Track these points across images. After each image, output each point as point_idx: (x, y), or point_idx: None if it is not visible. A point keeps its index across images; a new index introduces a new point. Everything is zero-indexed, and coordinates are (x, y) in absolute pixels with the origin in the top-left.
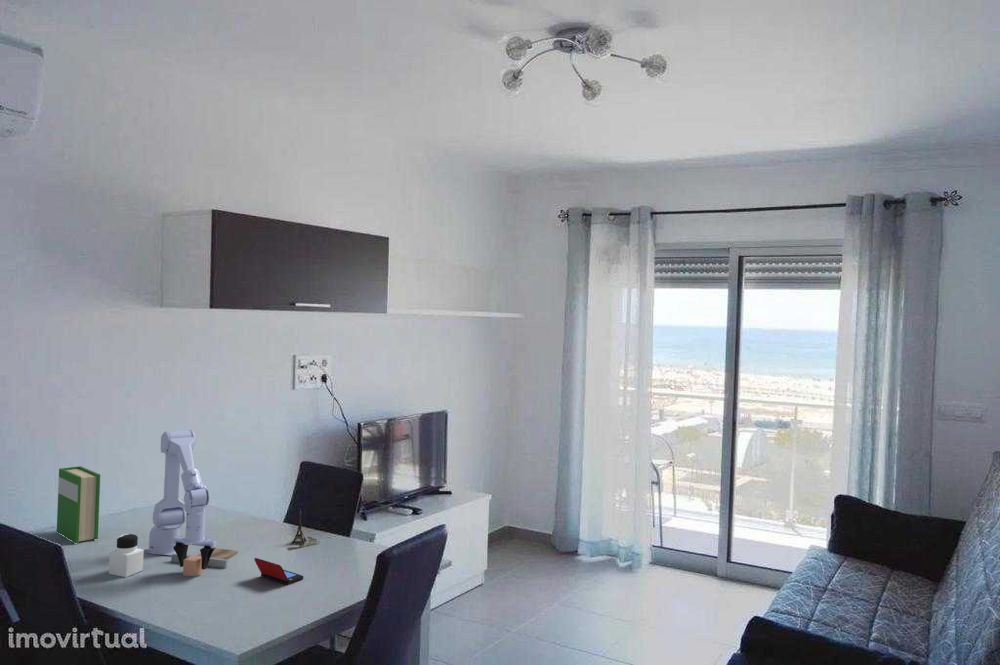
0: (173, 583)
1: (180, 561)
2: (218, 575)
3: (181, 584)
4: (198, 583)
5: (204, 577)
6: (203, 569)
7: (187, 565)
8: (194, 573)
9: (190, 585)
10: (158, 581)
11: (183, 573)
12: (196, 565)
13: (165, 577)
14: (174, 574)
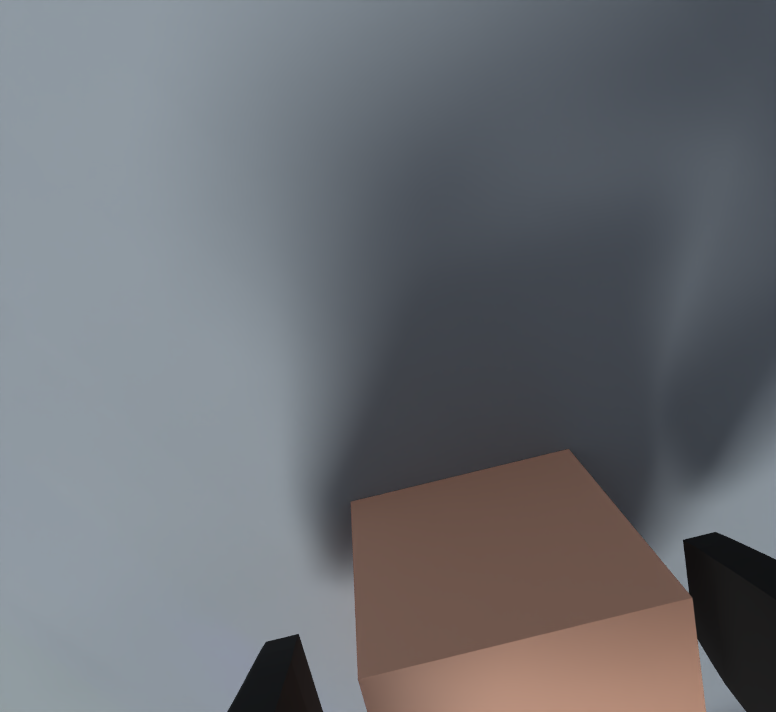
0: (412, 80)
1: (769, 579)
2: (102, 697)
3: (255, 118)
4: (55, 308)
5: (204, 542)
6: (264, 644)
7: (544, 552)
8: (374, 518)
9: (84, 164)
10: (710, 15)
11: (567, 460)
12: (358, 622)
13: (733, 226)
14: (697, 396)
